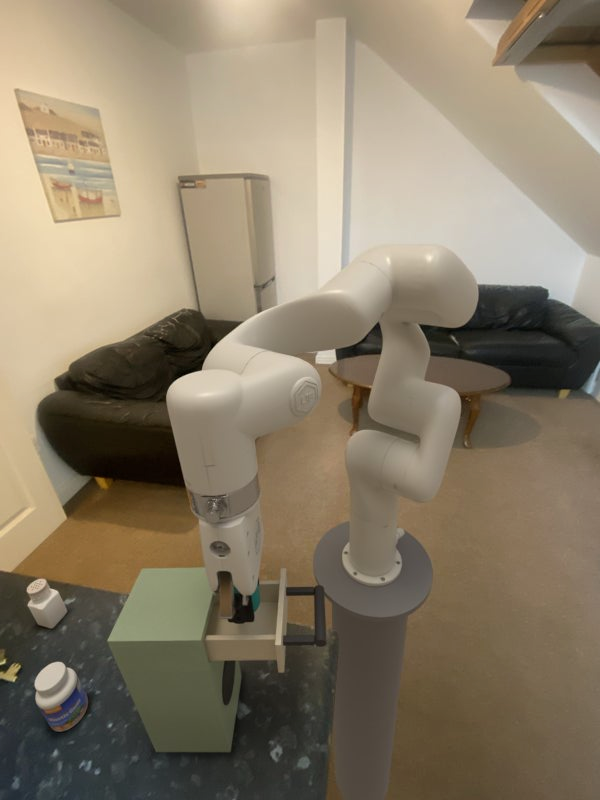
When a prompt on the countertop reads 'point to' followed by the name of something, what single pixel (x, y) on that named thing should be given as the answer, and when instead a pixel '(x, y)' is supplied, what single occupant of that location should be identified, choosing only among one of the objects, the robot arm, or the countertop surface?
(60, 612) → the salt shaker
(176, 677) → the green cabinet
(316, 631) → the drawer
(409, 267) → the robot arm
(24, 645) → the countertop surface
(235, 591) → the pod
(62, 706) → the pill bottle
